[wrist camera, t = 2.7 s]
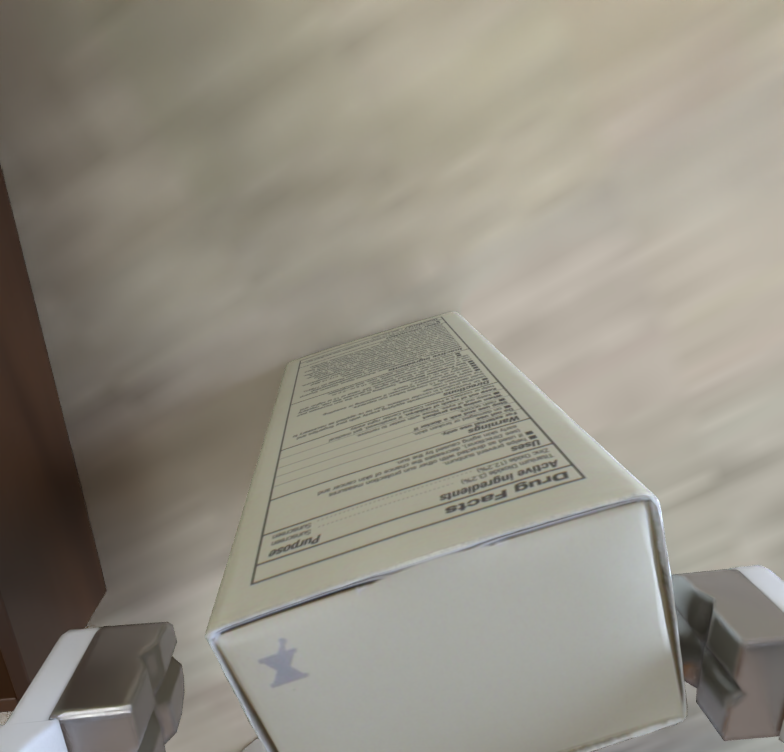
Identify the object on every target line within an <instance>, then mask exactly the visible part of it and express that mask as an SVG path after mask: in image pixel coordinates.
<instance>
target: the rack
mask: <svg viewBox="0 0 784 752" xmlns="http://www.w3.org/2000/svg"><path fill="white" fill-rule="evenodd" d="M105 592H106V586H105V582H104V578H103V574H102V570H101V566H100V562H99V558H98V554H97V550H96V546H95V542H94V538H93V534H92V530H91V526H90V522H89V518H88V514H87V510H86V506H85V502H84V498H83V494H82V490H81V486H80V482H79V478H78V474H77V470H76V466H75V462H74V458H73V454H72V450H71V446H70V442H69V438H68V434H67V430H66V426H65V422H64V418H63V414H62V410H61V406H60V402H59V398H58V394H57V390H56V386H55V382H54V378H53V374H52V370H51V366H50V362H49V358H48V354H47V350H46V346H45V342H44V338H43V334H42V330H41V326H40V322H39V318H38V314H37V310H36V306H35V302H34V298H33V294H32V290H31V286H30V282H29V278H28V274H27V270H26V266H25V262H24V257H23V253H22V249H21V245H20V241H19V237H18V233H17V229H16V225H15V221H14V217H13V213H12V209H11V205H10V201H9V197H8V193H7V189H6V185H5V181H4V177H3V173H2V169H1V165H0V712H8V711H14V709H15V707H16V706H17V704H18V703H19V701H20V700H21V698H22V696H23V695H24V693H25V692H26V690H27V688H28V687H29V685H30V684H31V682H32V681H33V679H34V677H35V676H36V674H37V673H38V671H39V669H40V668H41V666H42V665H43V663H44V662H45V660H46V658H47V657H48V655H49V654H50V652H51V650H52V649H53V647H54V646H55V644H56V642H57V641H58V639H59V638H60V637H61V635H63V634H64V633H66V632H67V631H68V630H70V629H83V628H85V627H86V625H87V623H88V622H89V620H90V618H91V616H92V615H93V613H94V611H95V610H96V608H97V606H98V604H99V603H100V601H101V599H102V598H103V596H104V594H105Z"/></svg>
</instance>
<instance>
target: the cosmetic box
mask: <svg viewBox="0 0 784 752" xmlns="http://www.w3.org/2000/svg"><path fill="white" fill-rule="evenodd" d="M205 638H206V640H207V642H208V643H209V645H210V647H211V649H212V650H213V652H214V654H215V656H216V657H217V659H218V661H219V663H220V666H221V668H222V670H223V672H224V674H225V677H226V678H227V680H228V682H229V683H230V685H231V687H232V689H233V692H234V693H235V695H236V697H237V698H238V700H239V703H240V705H241V708H242V709H243V711H244V712H245V714H246V716H247V719H248V721H249V723H250V724H251V726H252V728H253V729H254V731H255V733H256V735H257V737H258V738H259V740H260V742H261V744H262V746H263V748H264V750H265V751H266V752H593V751H596V750H598V749H601V748H605V747H608V746H611V745H614V744H617V743H621V742H624V741H626V740H629V739H632V738H636V737H639V736H643V735H646V734H648V733H651V732H653V731H657V730H660V729H663V728H666V727H670V726H674V725H676V724H678V723H680V722H682V721H683V720H684V719H685V718H686V717H687V712H688V707H687V698H686V691H685V683H684V674H683V664H682V656H681V650H680V640H679V632H678V623H677V616H676V611H675V602H674V593H673V585H672V577H671V571H670V565H669V559H668V553H667V547H666V540H665V532H664V525H663V519H662V513H661V507H660V503H659V500H658V498H657V497H656V496H655V495H654V494H653V493H652V492H651V491H650V490H649V489H647V488H646V487H645V486H644V485H643V484H642V483H641V482H640V481H639V480H638V479H636V478H635V477H634V476H633V475H632V474H631V473H630V472H629V471H628V470H626V469H625V468H624V467H623V466H622V465H621V464H620V463H619V462H618V461H617V460H616V459H615V458H613V457H612V456H611V455H610V454H609V453H608V452H607V451H606V450H605V449H604V448H603V447H602V446H601V445H600V444H599V443H598V442H596V441H595V440H594V439H593V438H592V437H591V436H589V435H588V434H587V433H586V432H585V431H584V430H583V429H582V428H581V427H580V426H579V425H578V424H576V423H575V422H574V421H573V420H572V419H571V418H570V417H569V416H568V415H567V414H566V413H565V412H564V411H563V410H562V409H561V408H560V407H558V406H557V405H556V404H555V403H554V402H553V401H552V400H551V399H549V398H548V397H547V396H546V395H545V394H544V393H543V392H542V391H541V390H540V389H539V388H538V387H537V386H536V385H535V384H534V383H533V382H532V381H531V380H530V379H529V378H528V377H526V376H525V375H524V374H523V373H522V372H521V371H520V370H519V369H518V368H517V367H515V366H514V365H513V364H512V363H511V362H510V361H509V360H508V359H507V358H506V357H505V356H504V355H503V354H502V353H500V352H499V351H498V350H497V349H496V348H495V347H494V346H493V345H492V344H491V343H490V342H489V341H488V340H487V339H486V338H485V337H484V336H482V335H481V334H480V333H479V332H478V331H477V330H476V329H475V328H473V327H472V326H471V325H470V324H469V323H468V322H467V321H466V320H465V319H464V318H463V317H462V316H461V315H460V314H458V313H457V312H449V313H445V314H442V315H438V316H434V317H431V318H428V319H424V320H420V321H417V322H413V323H410V324H407V325H403V326H400V327H397V328H393V329H390V330H387V331H384V332H380V333H377V334H374V335H371V336H368V337H364V338H361V339H358V340H355V341H351V342H348V343H345V344H342V345H339V346H336V347H333V348H329V349H326V350H323V351H320V352H317V353H314V354H312V355H309V356H306V357H303V358H300V359H297V360H294V361H291V362H289V363H288V364H287V365H286V367H285V371H284V374H283V377H282V380H281V384H280V387H279V391H278V394H277V398H276V401H275V405H274V408H273V411H272V414H271V418H270V421H269V424H268V428H267V431H266V434H265V438H264V441H263V444H262V448H261V451H260V455H259V458H258V461H257V465H256V468H255V471H254V474H253V477H252V480H251V484H250V487H249V491H248V494H247V498H246V501H245V504H244V507H243V511H242V515H241V519H240V522H239V525H238V528H237V532H236V535H235V539H234V542H233V545H232V548H231V552H230V555H229V558H228V562H227V565H226V568H225V571H224V574H223V578H222V581H221V584H220V587H219V591H218V594H217V597H216V601H215V604H214V607H213V610H212V613H211V617H210V620H209V623H208V626H207V630H206V634H205Z"/></svg>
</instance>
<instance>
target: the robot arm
mask: <svg viewBox="0 0 784 752" xmlns="http://www.w3.org/2000/svg"><path fill="white" fill-rule="evenodd" d="M671 577H672V585H673V593H674V602H675V611H676V616H677V623H678V632H679V640H680V650H681V656H682V664H683V674H684V681H686V682H687V683H689V684H690V685H692V686H694V687H695V688H697V691H696V702H697V704H698V705H699V707H700V708H701V709H702V711H703V712H704V714H705V715H706V716H707V718H708V719H709V721H710V722H711V723H712V725H713V726H714V728H715V729H716V730H717V732H718V733H719V735H720V736H721V737H722V739H723V740H724V741H728V740H740V739H751V738H763V737H774V736H779V740H780V741H782V742H783V743H784V581H782V580H781V579H780V578H779V577H778V576H777V575H775V574H774V573H773V572H772V571H771V570H770V569H768V568H765V567H763V566H761V565H753V566H744V567H735V568H730V569H722V570H712V571H702V572H693V573H683V574H673V575H671ZM176 643H177V640H176V636H175V631H174V627H173V625H172V624H171V623H169V622H159V623H145V624H131V625H116V626H104V627H97V628H83V629H70V630H68V631H67V632H66V633H64V634H63V635H61V637H60V638H59V639H58V641H57V642H56V644H55V646H54V647H53V649H52V650H51V652H50V654H49V655H48V657H47V658H46V660H45V662H44V663H43V665H42V666H41V668H40V669H39V671H38V673H37V674H36V676H35V677H34V679H33V681H32V682H31V684H30V685H29V687H28V688H27V690H26V692H25V693H24V695H23V696H22V698H21V700H20V701H19V703H18V704H17V706H16V707H15V709H14V711H13V712H12V714H11V715H10V717H9V719H8V720H7V722H6V723H5V725H0V752H166V750H165V744H166V743H167V742H168V741H169V740H170V739H171V738H172V737H173V736H174V735H175V733H176V732H177V729H178V726H179V722H180V719H181V715H182V708H183V700H184V675H183V670H182V664H180V663H179V662H178V661H177V660H176V659H174V658H173V657H172V655H173V652H174V649H175V646H176Z"/></svg>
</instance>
